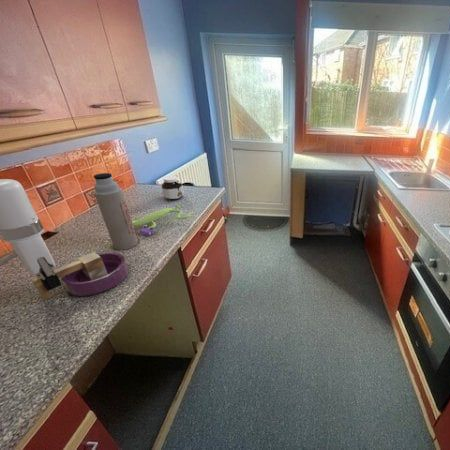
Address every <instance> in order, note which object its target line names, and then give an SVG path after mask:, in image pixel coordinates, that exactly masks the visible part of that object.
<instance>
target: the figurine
mask: <svg viewBox="0 0 450 450" xmlns="http://www.w3.org/2000/svg"><path fill="white" fill-rule="evenodd" d="M170 213H178V214H176V219H177V220H187V219H189V218H190V217H191V216H192V215H196V212H195V211H191V212H189V213H188V214H187V216H182V215H183V214H184V212H183V211H182V210H181V205H178V204H177V205H176V206H175V208H170V207H165V208H162V209H159V210H156V211H152V212H151V213H148V214H146V215H144V216H142V217H140V218H139V219H138V217H137V216H134V218H133V219H131V221H132V224H133V227H134V228H136V227H142V228H141V230H140V234H141V235H145V236H151V235H154V234H155V229H154V228H156V227H157V224H156V222H155V221H158V222H161V220H160V219H161V218H163V217H165V216H166V215H168V214H170ZM151 224H152V225H151Z"/></svg>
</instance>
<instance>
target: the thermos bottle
mask: <svg viewBox="0 0 450 450" xmlns="http://www.w3.org/2000/svg"><path fill="white" fill-rule="evenodd" d="M93 179H95V184H94V185H93V189H94V192H93V194H94V198H95V200H96V202H97V205H98V208H99V210H100V213H101V215H102V219H103V221H104V225H105V226H106V229H107V232H108V235H109V237H110V240H111V243H112V246H113V248H114V249H115V250H119V251H120V250H121V251H122V250H123V251H124V250H127V249H131V248H133V247H135V246H136V245H137V244H138V242H139V240H138V237H137V234H136V231H135V230H136V229H135V227H134V226H133V224H134V223H133V224H132V221H131V220H132V217H131V214H130V212H129V208H128V205H127V202H126V198H125V195H124V191H123V189H122V188H121V187H120V186H119V183H118V182H117V181H114V177H113V175H112V174H111V172H110V173H109V172H103V173H102V172H101V173H97V174H94V175H93Z"/></svg>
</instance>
